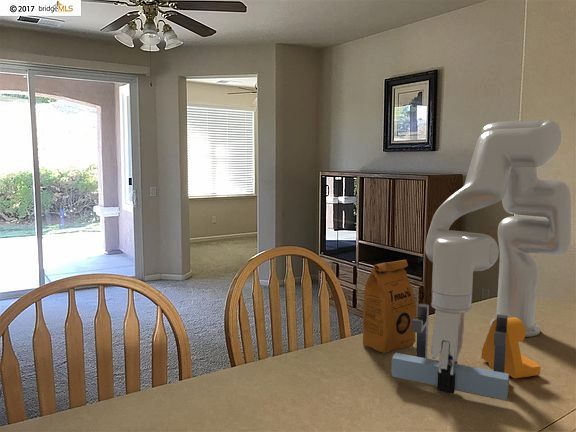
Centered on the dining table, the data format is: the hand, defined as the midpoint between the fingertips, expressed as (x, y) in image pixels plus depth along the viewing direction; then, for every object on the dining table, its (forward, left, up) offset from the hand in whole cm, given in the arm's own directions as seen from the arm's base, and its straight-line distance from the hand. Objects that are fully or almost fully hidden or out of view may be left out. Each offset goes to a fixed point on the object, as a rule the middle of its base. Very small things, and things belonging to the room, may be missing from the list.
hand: (447, 387), depth 97 cm
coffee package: (-19, -17, -2) cm, 26 cm away
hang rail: (0, 0, +1) cm, 1 cm away
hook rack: (-7, +1, -2) cm, 7 cm away
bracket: (-19, +11, -2) cm, 22 cm away
